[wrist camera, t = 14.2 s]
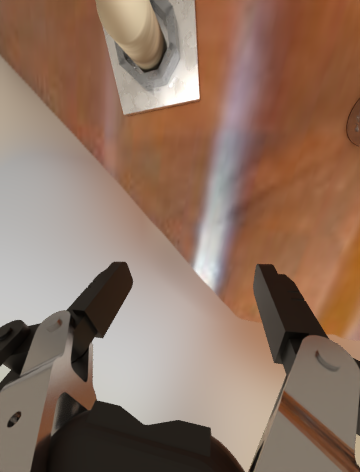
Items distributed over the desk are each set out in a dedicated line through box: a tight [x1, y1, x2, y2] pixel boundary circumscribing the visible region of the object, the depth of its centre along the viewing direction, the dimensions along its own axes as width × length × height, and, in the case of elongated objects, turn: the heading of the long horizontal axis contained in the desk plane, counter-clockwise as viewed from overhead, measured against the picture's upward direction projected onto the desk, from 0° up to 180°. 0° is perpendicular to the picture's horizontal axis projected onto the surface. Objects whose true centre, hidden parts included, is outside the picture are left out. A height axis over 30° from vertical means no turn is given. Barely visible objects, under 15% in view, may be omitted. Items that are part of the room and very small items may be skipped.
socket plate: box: [103, 0, 200, 116], centre depth 23 cm, size 14×14×4 cm
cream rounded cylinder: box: [96, 0, 168, 73], centre depth 20 cm, size 5×5×10 cm
